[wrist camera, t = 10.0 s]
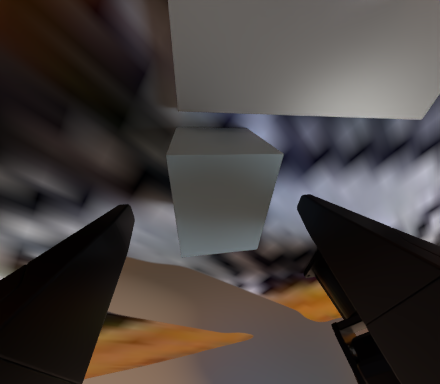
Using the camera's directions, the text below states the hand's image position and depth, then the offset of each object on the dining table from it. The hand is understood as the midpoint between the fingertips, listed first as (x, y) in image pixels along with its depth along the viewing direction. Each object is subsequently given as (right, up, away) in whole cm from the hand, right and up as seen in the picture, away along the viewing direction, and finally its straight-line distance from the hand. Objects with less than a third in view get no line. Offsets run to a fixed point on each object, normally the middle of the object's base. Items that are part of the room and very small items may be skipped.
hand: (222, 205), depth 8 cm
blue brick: (-1, +2, +3) cm, 4 cm away
